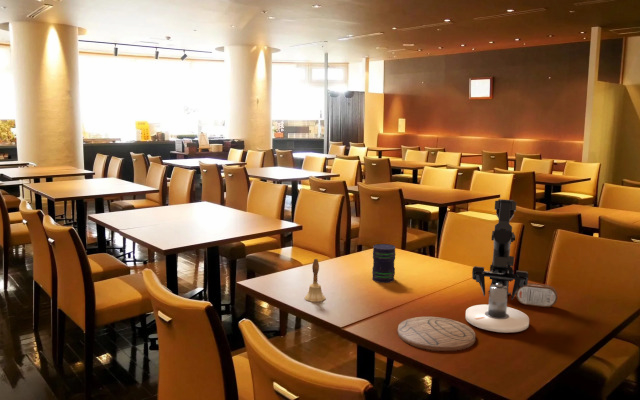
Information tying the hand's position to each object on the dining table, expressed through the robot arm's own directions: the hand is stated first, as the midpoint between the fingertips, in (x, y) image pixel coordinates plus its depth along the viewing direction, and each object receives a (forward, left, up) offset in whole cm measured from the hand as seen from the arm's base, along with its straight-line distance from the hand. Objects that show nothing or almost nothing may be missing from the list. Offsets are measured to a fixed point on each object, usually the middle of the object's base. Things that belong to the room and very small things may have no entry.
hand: (498, 297), depth 184 cm
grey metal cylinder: (0, 0, -6) cm, 6 cm away
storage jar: (+10, -59, -10) cm, 60 cm away
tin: (-27, -8, -10) cm, 30 cm away
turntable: (0, 0, -9) cm, 9 cm away
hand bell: (+48, -48, -10) cm, 69 cm away
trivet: (+26, 0, -10) cm, 28 cm away
